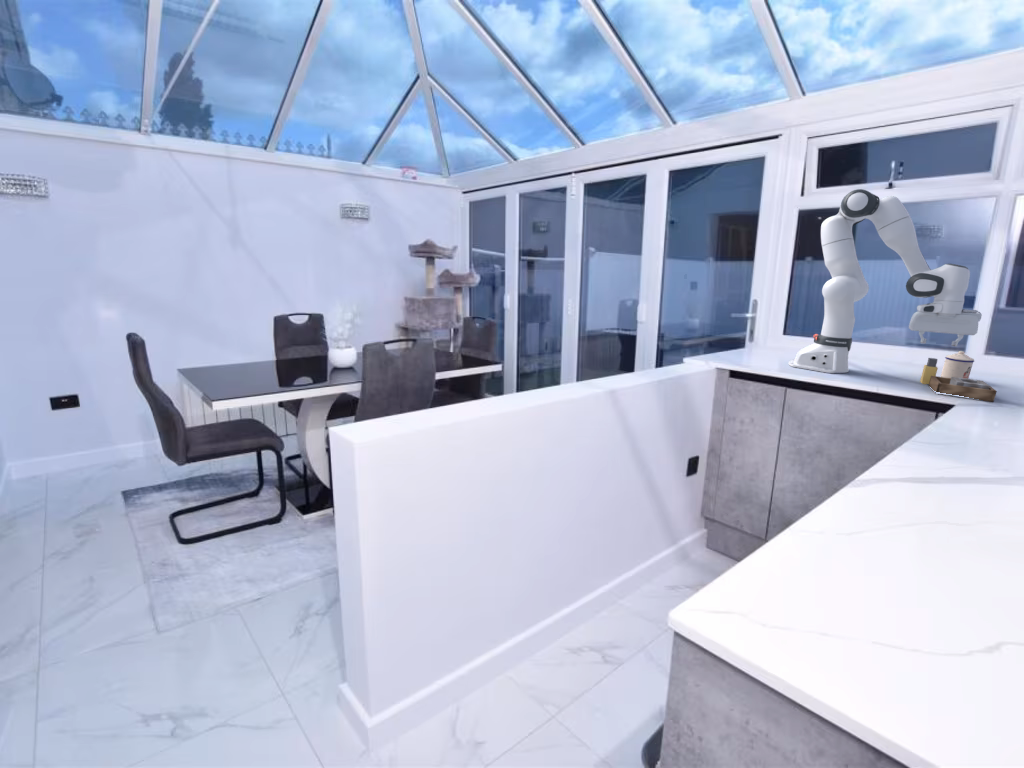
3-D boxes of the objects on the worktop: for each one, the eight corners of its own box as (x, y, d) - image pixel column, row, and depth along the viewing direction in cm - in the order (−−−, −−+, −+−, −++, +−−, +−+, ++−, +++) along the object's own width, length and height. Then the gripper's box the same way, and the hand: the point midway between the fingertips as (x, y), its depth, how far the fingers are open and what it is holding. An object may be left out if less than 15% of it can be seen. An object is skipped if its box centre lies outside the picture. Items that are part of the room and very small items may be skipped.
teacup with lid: (967, 383, 204) (976, 354, 201) (938, 378, 210) (946, 350, 207) (969, 378, 213) (977, 351, 210) (941, 374, 218) (948, 347, 215)
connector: (921, 383, 200) (928, 358, 197) (919, 381, 203) (926, 357, 201) (933, 385, 198) (939, 360, 196) (931, 383, 202) (937, 358, 199)
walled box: (935, 394, 186) (939, 380, 184) (928, 385, 197) (931, 373, 196) (993, 402, 178) (997, 388, 177) (982, 393, 190) (986, 380, 189)
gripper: (980, 309, 191) (971, 346, 194) (912, 305, 200) (904, 340, 204) (985, 311, 185) (975, 348, 189) (915, 306, 195) (907, 342, 198)
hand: (938, 344), depth 196 cm, fingers open, 8 cm apart
